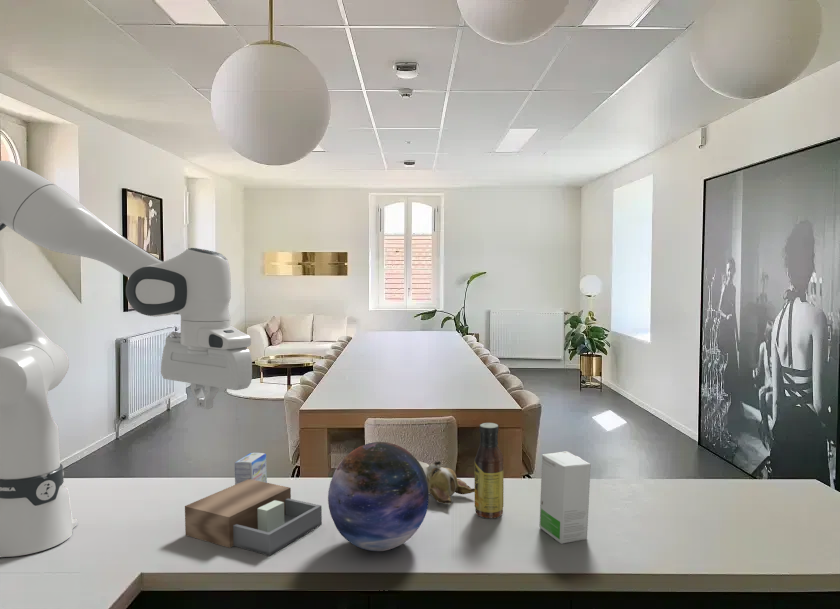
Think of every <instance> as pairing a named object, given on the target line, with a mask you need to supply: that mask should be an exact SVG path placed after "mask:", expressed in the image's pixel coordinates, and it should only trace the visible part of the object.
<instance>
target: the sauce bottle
mask: <svg viewBox="0 0 840 609" xmlns="http://www.w3.org/2000/svg"><path fill="white" fill-rule="evenodd" d="M478 430H479V433H480V435H479V436H480V439H479V446H478V449H477V452H476V456H475V458H474V461H473V462H474V463H473V464H474V476H473V477H474V489H475V492H474V510H475V514H476V515H477V516H478V517H480V518H483V519H498V518H500V517H501V516H502V515H503V513H504V497H505V496H504V486H505V485H504V455H503V453H502V451H501V449H500V448H499V446H498V445H499V441H498V440H499V439H498V438H499V437H498V436H499V435H498V434H499V424H497V423H494V422H483V423H481V424H479V429H478Z"/></svg>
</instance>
